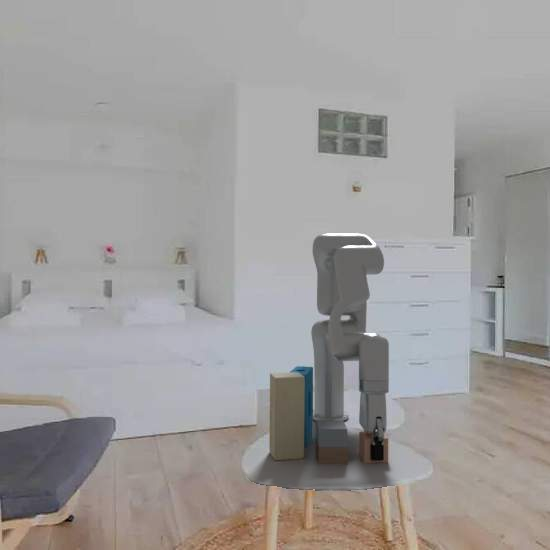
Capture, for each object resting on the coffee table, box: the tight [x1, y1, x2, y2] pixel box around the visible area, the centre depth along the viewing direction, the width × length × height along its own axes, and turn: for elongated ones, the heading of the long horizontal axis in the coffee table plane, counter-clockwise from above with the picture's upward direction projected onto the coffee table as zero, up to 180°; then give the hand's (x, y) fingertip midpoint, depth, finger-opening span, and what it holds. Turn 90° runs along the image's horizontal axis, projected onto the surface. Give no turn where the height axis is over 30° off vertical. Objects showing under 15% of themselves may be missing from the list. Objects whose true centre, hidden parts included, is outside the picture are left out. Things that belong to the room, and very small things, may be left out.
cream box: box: [268, 372, 305, 461], centre depth 140 cm, size 8×7×21 cm
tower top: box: [315, 420, 348, 448], centre depth 137 cm, size 7×7×4 cm
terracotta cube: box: [358, 430, 389, 464], centre depth 138 cm, size 6×6×6 cm
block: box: [288, 365, 314, 448], centre depth 150 cm, size 12×5×20 cm, turn 165°
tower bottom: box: [315, 438, 348, 466], centre depth 137 cm, size 7×7×4 cm
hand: (373, 454), depth 138 cm, fingers closed on terracotta cube, 6 cm apart
